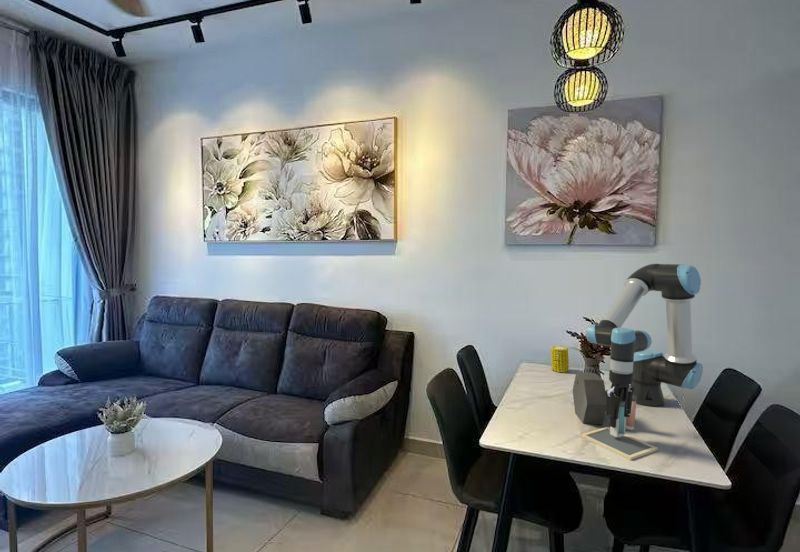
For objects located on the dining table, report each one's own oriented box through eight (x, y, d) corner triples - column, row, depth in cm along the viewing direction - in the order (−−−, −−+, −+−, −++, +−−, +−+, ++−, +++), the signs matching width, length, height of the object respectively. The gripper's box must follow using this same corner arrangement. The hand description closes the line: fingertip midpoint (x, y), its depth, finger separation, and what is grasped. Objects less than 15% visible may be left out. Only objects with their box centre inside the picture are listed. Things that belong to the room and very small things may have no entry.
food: (571, 375, 239) (555, 376, 237) (559, 364, 250) (544, 366, 247) (575, 350, 234) (559, 352, 232) (563, 341, 245) (547, 342, 243)
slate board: (607, 428, 164) (607, 426, 164) (657, 450, 147) (658, 447, 147) (580, 436, 156) (580, 434, 156) (630, 460, 139) (630, 457, 139)
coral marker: (628, 426, 167) (629, 393, 166) (636, 429, 164) (638, 396, 163) (622, 427, 165) (624, 395, 164) (631, 431, 162) (633, 398, 161)
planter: (610, 420, 160) (601, 366, 171) (588, 418, 161) (581, 365, 171) (596, 428, 175) (589, 378, 185) (576, 426, 176) (570, 377, 186)
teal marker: (616, 433, 157) (618, 398, 156) (625, 436, 154) (627, 401, 153) (610, 434, 155) (611, 400, 154) (618, 438, 152) (620, 403, 151)
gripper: (625, 365, 160) (621, 426, 162) (596, 371, 152) (593, 434, 154) (644, 371, 153) (641, 434, 155) (616, 377, 146) (612, 443, 147)
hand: (617, 434), depth 154 cm, fingers closed on teal marker, 3 cm apart
